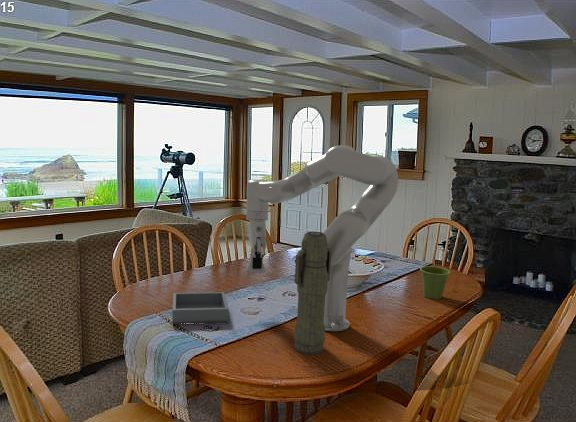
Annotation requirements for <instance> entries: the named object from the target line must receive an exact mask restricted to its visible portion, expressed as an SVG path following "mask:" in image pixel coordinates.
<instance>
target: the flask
mask: <svg viewBox="0 0 576 422" xmlns="http://www.w3.org/2000/svg"><path fill="white" fill-rule="evenodd" d="M256 248H257V247H255V249H256ZM256 251H257V250H255V252H256ZM251 254H252V255H251ZM251 254H250V255H251V258H249V262H248V264H247V266H246V267H245V272H246V273H248V274H249V273H250V274H263V273H266V268H265V264H264V262H263V260H262V268H261V269H253V268H252V265H253V257H254V253H253V250H252V253H251Z"/></svg>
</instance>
